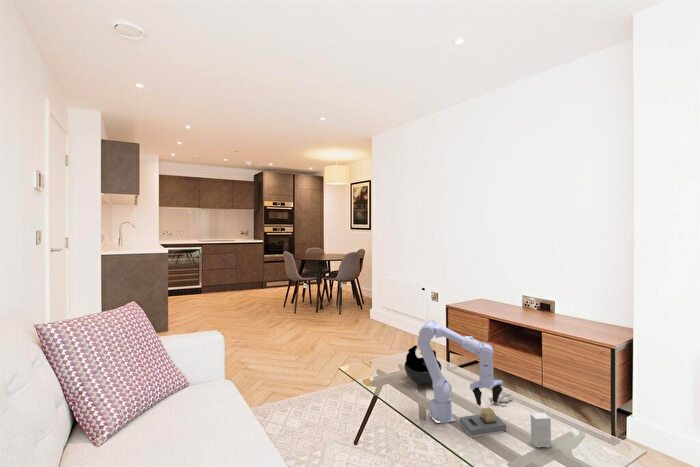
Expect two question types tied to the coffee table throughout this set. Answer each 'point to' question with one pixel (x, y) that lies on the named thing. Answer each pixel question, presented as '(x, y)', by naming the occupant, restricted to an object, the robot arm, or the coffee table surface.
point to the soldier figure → (501, 399)
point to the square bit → (487, 416)
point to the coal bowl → (418, 367)
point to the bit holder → (481, 426)
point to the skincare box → (541, 429)
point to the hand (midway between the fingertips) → (486, 403)
